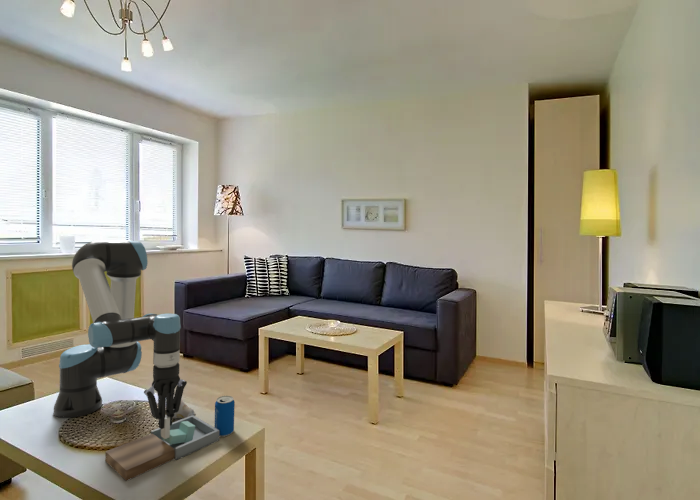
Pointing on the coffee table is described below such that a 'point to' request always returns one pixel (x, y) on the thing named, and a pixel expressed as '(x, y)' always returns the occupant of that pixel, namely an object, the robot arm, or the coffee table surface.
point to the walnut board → (139, 456)
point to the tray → (201, 436)
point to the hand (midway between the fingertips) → (165, 436)
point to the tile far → (187, 430)
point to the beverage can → (224, 415)
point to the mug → (183, 411)
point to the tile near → (176, 437)
